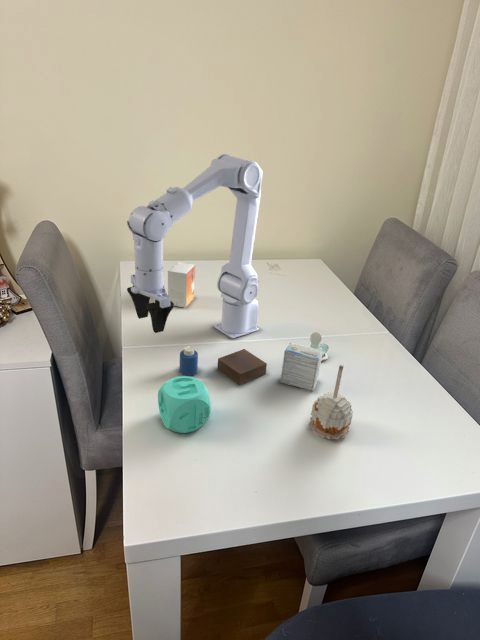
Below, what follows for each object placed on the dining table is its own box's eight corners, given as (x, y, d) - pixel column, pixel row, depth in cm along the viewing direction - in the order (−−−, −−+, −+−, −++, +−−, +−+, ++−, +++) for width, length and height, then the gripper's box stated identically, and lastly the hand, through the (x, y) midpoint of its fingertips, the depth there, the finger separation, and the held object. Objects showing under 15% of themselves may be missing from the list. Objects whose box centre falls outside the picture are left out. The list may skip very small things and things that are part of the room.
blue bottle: (190, 364, 114) (191, 342, 111) (200, 372, 112) (201, 350, 109) (176, 370, 112) (176, 347, 109) (186, 378, 109) (186, 355, 106)
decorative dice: (170, 437, 92) (170, 403, 88) (157, 413, 98) (157, 379, 94) (210, 427, 95) (211, 394, 91) (195, 404, 101) (196, 372, 97)
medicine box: (317, 382, 113) (323, 350, 109) (313, 392, 109) (319, 359, 105) (285, 373, 115) (289, 341, 110) (279, 383, 111) (284, 350, 107)
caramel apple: (322, 411, 103) (334, 350, 96) (354, 428, 99) (369, 366, 92) (301, 428, 98) (312, 365, 90) (334, 446, 94) (348, 382, 86)
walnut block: (243, 359, 119) (244, 348, 117) (265, 374, 114) (266, 363, 112) (217, 369, 114) (217, 358, 112) (239, 385, 109) (240, 374, 107)
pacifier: (332, 362, 122) (323, 349, 127) (337, 340, 118) (327, 328, 123) (305, 364, 120) (296, 351, 124) (309, 342, 116) (300, 329, 121)
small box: (186, 308, 140) (186, 274, 134) (167, 305, 140) (167, 270, 135) (194, 297, 147) (195, 264, 141) (177, 294, 147) (177, 261, 142)
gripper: (116, 257, 104) (119, 314, 111) (147, 281, 95) (149, 342, 102) (146, 253, 108) (148, 308, 115) (179, 276, 99) (179, 334, 106)
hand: (150, 324), depth 109 cm, fingers open, 7 cm apart
